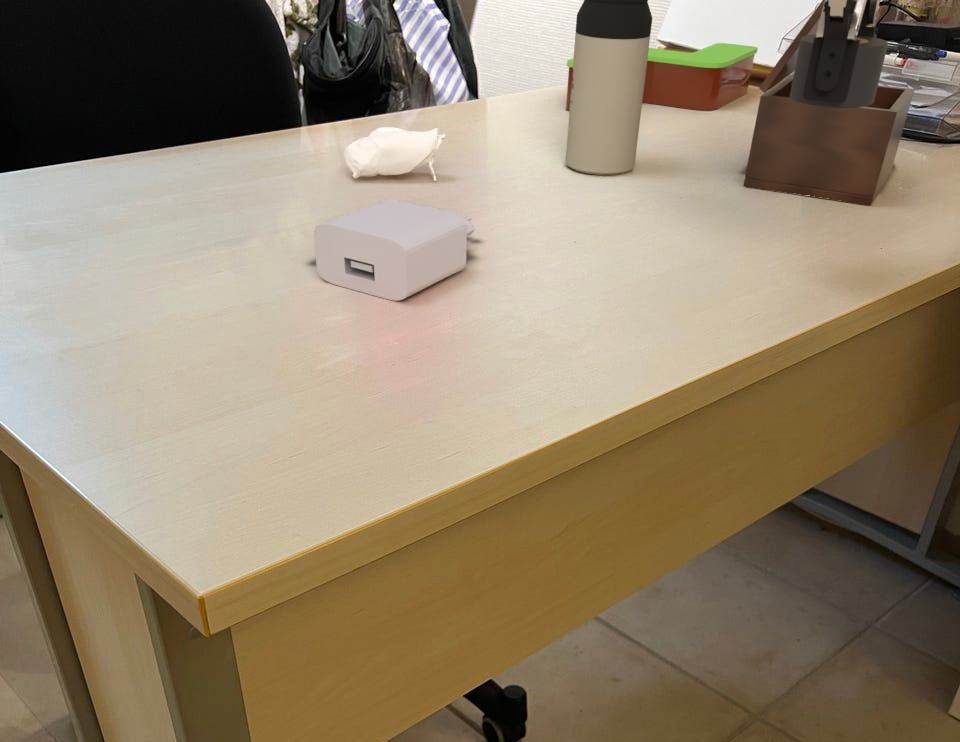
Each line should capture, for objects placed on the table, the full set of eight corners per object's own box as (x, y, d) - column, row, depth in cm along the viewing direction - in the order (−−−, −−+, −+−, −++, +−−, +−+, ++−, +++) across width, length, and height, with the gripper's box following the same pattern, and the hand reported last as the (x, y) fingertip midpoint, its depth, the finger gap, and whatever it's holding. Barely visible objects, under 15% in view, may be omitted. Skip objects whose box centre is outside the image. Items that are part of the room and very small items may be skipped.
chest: (889, 176, 110) (914, 89, 104) (870, 206, 100) (897, 112, 94) (771, 159, 114) (789, 74, 108) (743, 186, 105) (760, 95, 99)
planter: (683, 128, 125) (691, 77, 121) (560, 110, 132) (564, 61, 128) (751, 91, 145) (760, 47, 141) (641, 77, 152) (646, 34, 148)
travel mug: (645, 166, 110) (669, -22, 98) (613, 180, 105) (635, -16, 93) (586, 154, 113) (602, -28, 102) (552, 168, 108) (565, -23, 97)
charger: (503, 254, 85) (406, 304, 76) (420, 234, 89) (317, 280, 79) (506, 198, 82) (404, 243, 72) (419, 180, 86) (312, 220, 76)
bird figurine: (426, 181, 107) (339, 160, 104) (442, 120, 102) (352, 95, 99) (431, 202, 104) (342, 181, 101) (448, 140, 99) (355, 116, 96)
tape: (879, 96, 75) (894, 37, 73) (866, 111, 71) (881, 49, 68) (798, 89, 78) (810, 31, 75) (781, 103, 73) (792, 42, 71)
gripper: (946, -225, 55) (863, 119, 67) (972, -212, 67) (898, 78, 79) (816, -223, 58) (758, 108, 69) (863, -210, 70) (807, 70, 81)
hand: (833, 89), depth 74 cm, fingers closed on tape, 6 cm apart
